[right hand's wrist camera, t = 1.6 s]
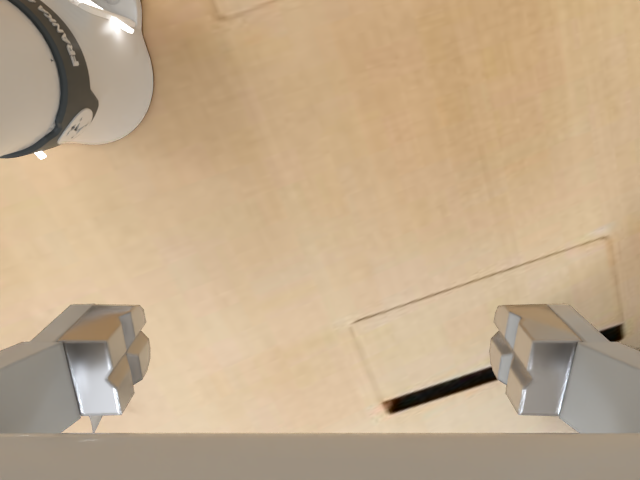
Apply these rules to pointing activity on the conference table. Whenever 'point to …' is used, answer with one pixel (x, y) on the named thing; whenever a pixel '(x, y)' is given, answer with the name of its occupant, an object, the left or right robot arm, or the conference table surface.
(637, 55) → the conference table surface
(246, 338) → the conference table surface
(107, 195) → the conference table surface
